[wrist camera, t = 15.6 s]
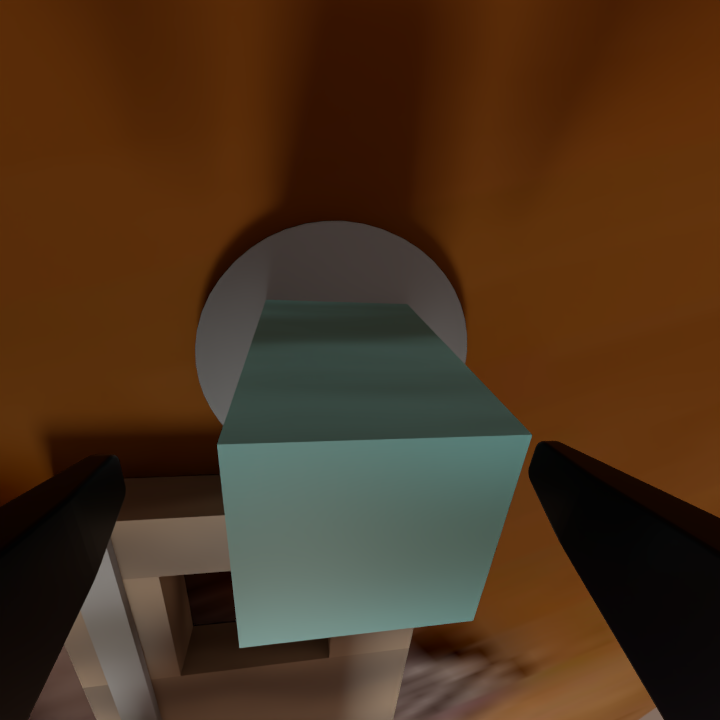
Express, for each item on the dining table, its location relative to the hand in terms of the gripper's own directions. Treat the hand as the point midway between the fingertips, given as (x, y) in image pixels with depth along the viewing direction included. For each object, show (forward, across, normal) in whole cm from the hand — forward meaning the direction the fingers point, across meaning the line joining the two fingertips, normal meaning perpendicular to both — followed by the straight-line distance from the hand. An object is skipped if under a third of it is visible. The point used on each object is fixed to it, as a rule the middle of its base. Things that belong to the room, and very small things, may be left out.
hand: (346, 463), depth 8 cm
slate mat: (+5, 0, 0) cm, 5 cm away
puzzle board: (+5, +3, +17) cm, 18 cm away
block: (+5, 0, 0) cm, 5 cm away
